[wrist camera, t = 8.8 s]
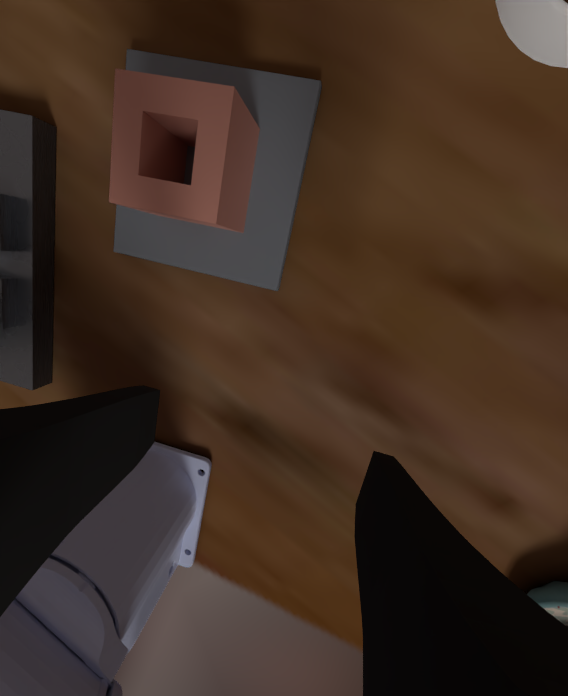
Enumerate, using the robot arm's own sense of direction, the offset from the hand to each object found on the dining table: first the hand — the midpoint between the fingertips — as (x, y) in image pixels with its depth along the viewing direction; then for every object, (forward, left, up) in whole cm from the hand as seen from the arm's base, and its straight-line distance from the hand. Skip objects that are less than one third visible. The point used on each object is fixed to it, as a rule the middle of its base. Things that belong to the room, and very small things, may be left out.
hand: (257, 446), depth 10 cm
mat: (+9, +7, -9) cm, 15 cm away
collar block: (+9, +7, -9) cm, 14 cm away
